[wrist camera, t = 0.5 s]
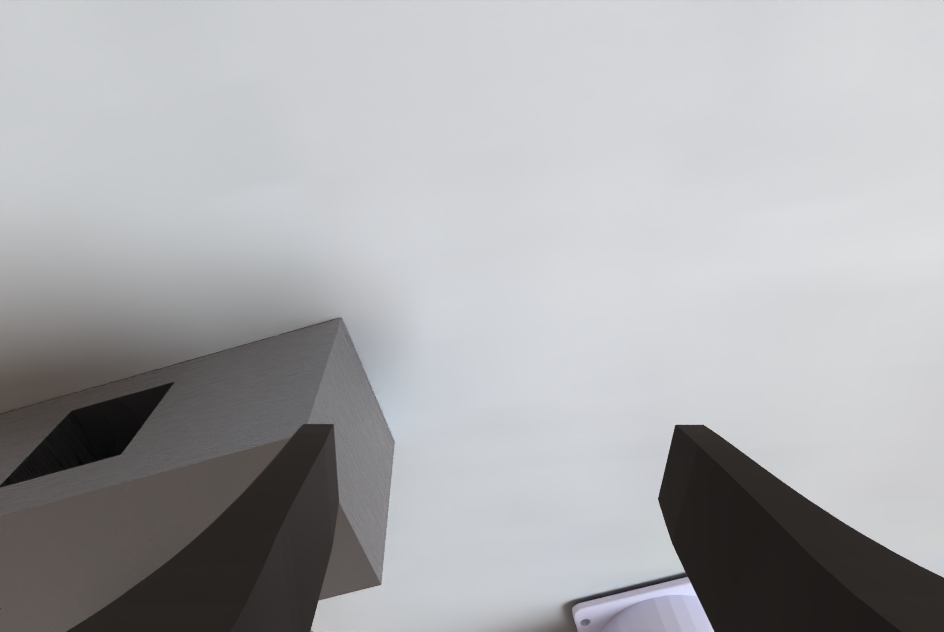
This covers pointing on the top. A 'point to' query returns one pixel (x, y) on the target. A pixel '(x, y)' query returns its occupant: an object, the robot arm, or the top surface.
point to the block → (179, 471)
